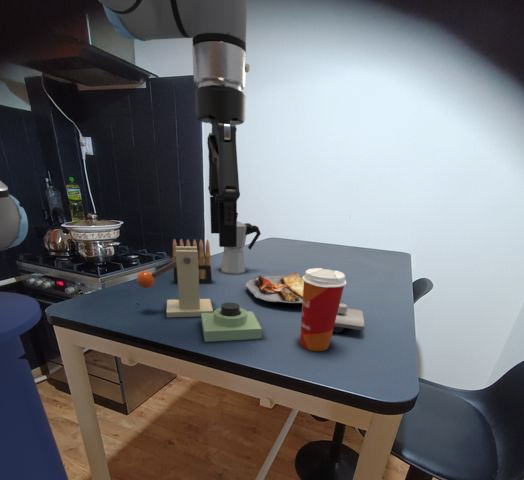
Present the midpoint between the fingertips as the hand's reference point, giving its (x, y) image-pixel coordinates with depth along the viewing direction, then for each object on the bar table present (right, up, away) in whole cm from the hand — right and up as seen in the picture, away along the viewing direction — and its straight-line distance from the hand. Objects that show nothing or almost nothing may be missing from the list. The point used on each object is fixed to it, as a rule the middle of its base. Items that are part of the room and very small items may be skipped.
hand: (222, 239), depth 57 cm
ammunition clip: (-13, 0, +35) cm, 37 cm away
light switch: (+24, -15, +13) cm, 31 cm away
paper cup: (+17, -19, +5) cm, 26 cm away
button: (+1, -13, +6) cm, 14 cm away
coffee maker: (-2, +6, +49) cm, 50 cm away
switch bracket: (-10, -11, +16) cm, 22 cm away
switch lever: (-13, -4, +12) cm, 18 cm away
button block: (+1, -16, +8) cm, 18 cm away
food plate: (+15, -5, +30) cm, 34 cm away
